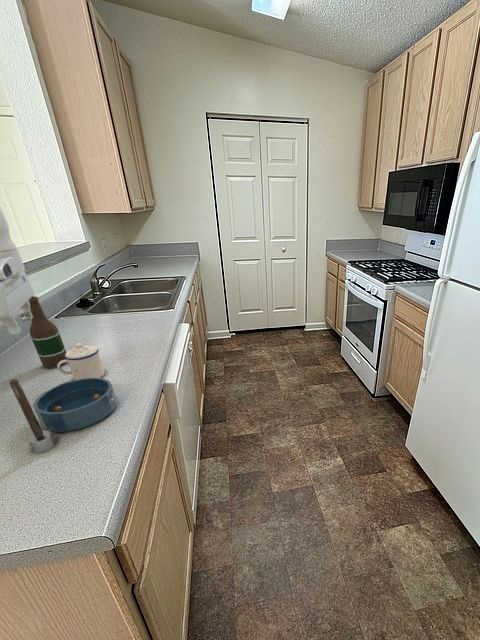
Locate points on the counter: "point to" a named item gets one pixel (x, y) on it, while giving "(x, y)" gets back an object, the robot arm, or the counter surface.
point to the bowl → (75, 404)
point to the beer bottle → (45, 337)
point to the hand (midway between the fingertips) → (22, 326)
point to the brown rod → (32, 421)
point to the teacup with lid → (83, 362)
